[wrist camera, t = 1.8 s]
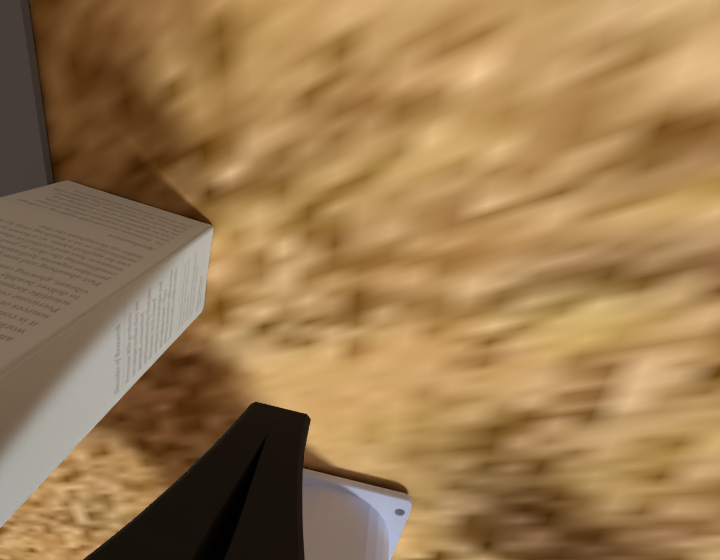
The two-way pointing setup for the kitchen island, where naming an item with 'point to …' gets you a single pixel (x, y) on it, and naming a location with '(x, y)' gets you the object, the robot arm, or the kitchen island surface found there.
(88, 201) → the skincare box
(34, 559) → the kitchen island surface
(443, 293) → the kitchen island surface
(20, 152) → the mat
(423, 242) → the kitchen island surface
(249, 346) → the kitchen island surface
